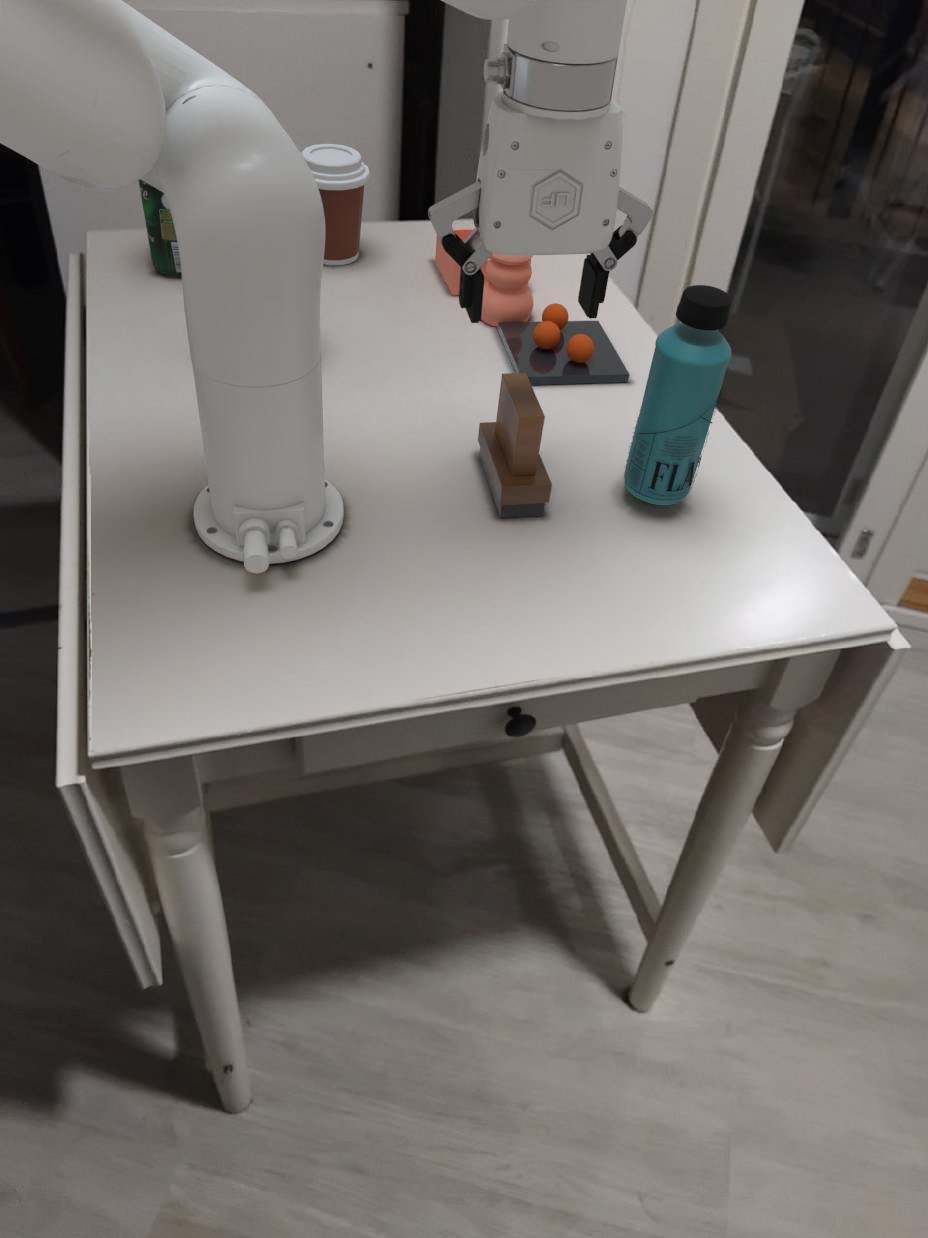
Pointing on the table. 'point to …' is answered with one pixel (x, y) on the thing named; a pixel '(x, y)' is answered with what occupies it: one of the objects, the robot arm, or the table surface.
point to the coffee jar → (160, 230)
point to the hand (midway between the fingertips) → (530, 312)
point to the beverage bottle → (680, 398)
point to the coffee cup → (339, 198)
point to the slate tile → (562, 355)
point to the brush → (515, 451)
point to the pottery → (494, 283)
